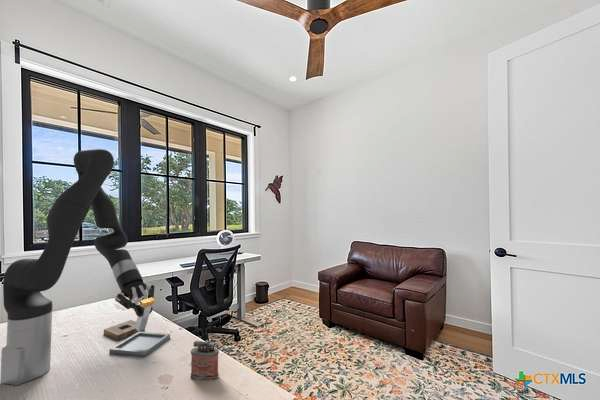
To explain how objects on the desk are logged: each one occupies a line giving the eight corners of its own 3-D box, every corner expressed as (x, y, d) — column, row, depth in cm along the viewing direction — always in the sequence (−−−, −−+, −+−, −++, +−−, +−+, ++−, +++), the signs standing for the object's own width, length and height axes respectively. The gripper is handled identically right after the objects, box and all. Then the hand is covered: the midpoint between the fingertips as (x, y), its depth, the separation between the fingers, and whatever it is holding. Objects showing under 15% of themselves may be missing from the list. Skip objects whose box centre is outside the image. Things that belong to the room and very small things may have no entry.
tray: (144, 357, 86) (144, 352, 86) (109, 353, 88) (109, 349, 88) (170, 338, 99) (170, 333, 99) (138, 335, 101) (139, 331, 101)
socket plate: (117, 340, 97) (117, 335, 97) (103, 334, 102) (103, 329, 102) (144, 330, 106) (145, 324, 106) (130, 324, 111) (130, 319, 111)
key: (135, 332, 93) (144, 304, 91) (132, 328, 94) (140, 300, 92) (147, 328, 96) (155, 300, 94) (143, 324, 97) (151, 296, 95)
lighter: (220, 374, 77) (220, 339, 78) (215, 381, 74) (216, 344, 74) (194, 372, 78) (194, 337, 79) (188, 379, 75) (188, 343, 75)
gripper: (110, 272, 92) (129, 315, 86) (149, 264, 104) (169, 301, 98) (102, 285, 95) (120, 328, 88) (141, 276, 107) (160, 313, 101)
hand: (146, 314), depth 93 cm, fingers closed on key, 2 cm apart
